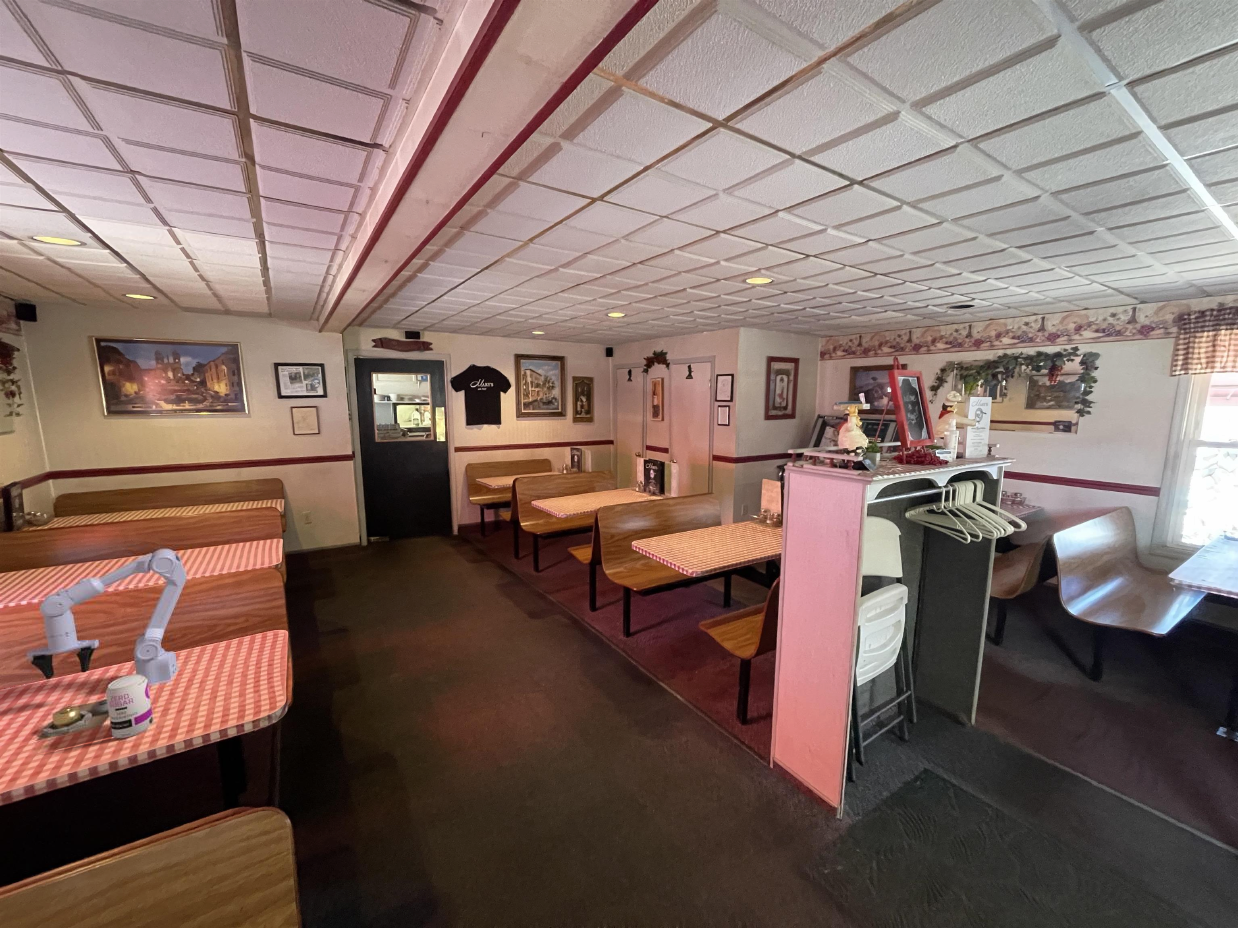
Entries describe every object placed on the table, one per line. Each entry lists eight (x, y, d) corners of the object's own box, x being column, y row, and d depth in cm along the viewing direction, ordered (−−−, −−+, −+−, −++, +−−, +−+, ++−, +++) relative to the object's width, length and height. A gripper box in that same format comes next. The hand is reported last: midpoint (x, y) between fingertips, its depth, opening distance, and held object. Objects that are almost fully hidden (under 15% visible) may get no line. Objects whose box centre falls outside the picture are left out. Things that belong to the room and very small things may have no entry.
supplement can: (151, 716, 140) (144, 669, 138) (155, 728, 135) (148, 679, 133) (111, 730, 134) (103, 682, 132) (114, 744, 128) (106, 693, 126)
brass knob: (82, 717, 138) (80, 700, 138) (79, 725, 135) (77, 709, 134) (56, 724, 135) (53, 708, 134) (52, 733, 131) (49, 716, 131)
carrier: (127, 696, 149) (126, 686, 148) (101, 727, 135) (99, 716, 134) (69, 708, 143) (67, 697, 142) (35, 742, 129) (33, 730, 128)
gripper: (101, 621, 149) (107, 661, 151) (35, 631, 143) (42, 673, 144) (89, 631, 143) (95, 673, 145) (19, 642, 136) (27, 685, 138)
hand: (68, 674), depth 144 cm, fingers open, 7 cm apart
